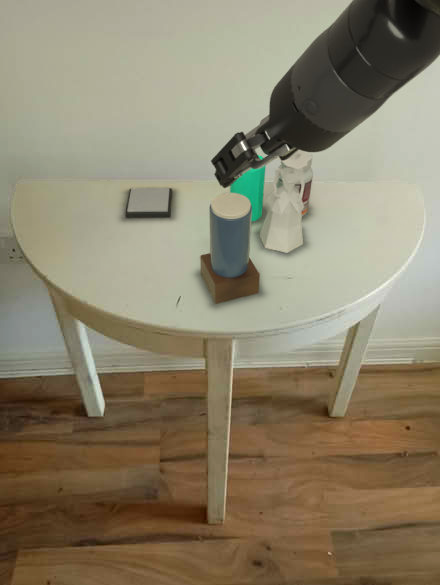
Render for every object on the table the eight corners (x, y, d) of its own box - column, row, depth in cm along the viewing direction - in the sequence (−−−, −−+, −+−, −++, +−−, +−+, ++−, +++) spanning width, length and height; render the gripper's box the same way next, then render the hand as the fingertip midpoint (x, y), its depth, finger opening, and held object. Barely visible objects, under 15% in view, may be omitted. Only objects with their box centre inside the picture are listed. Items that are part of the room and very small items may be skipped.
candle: (224, 217, 90) (225, 158, 82) (236, 200, 94) (238, 141, 86) (256, 225, 89) (260, 165, 80) (266, 207, 93) (271, 148, 84)
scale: (125, 218, 90) (124, 211, 89) (130, 193, 96) (129, 186, 95) (170, 217, 90) (169, 211, 90) (172, 192, 96) (171, 186, 95)
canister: (217, 281, 73) (217, 220, 65) (205, 256, 77) (203, 196, 69) (254, 272, 74) (259, 211, 67) (240, 248, 78) (242, 188, 70)
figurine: (269, 256, 83) (278, 159, 70) (255, 227, 89) (261, 132, 76) (309, 249, 84) (325, 153, 71) (293, 221, 90) (305, 127, 77)
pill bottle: (299, 198, 95) (306, 143, 87) (312, 216, 91) (322, 160, 83) (268, 203, 94) (273, 148, 86) (281, 222, 90) (287, 166, 82)
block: (215, 304, 75) (215, 285, 72) (200, 274, 80) (200, 255, 77) (258, 293, 77) (260, 274, 74) (241, 264, 82) (242, 245, 79)
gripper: (368, 28, 45) (282, 117, 60) (245, 72, 39) (183, 158, 54) (408, 102, 45) (312, 172, 60) (291, 157, 39) (217, 219, 54)
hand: (251, 165), depth 57 cm, fingers open, 8 cm apart
